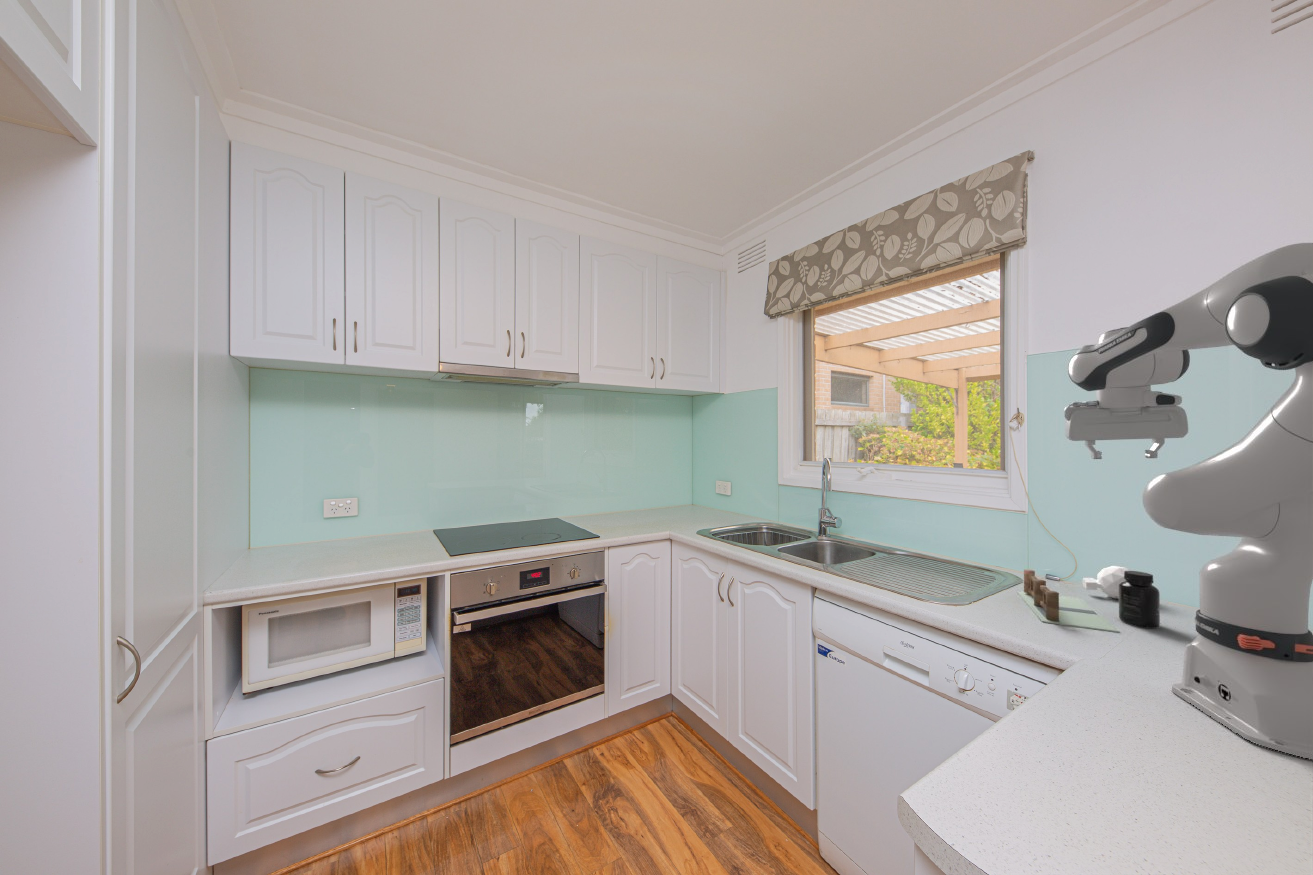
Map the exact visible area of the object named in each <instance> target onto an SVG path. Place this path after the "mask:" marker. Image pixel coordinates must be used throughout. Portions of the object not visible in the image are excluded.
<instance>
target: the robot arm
mask: <svg viewBox="0 0 1313 875" xmlns="http://www.w3.org/2000/svg"><path fill="white" fill-rule="evenodd" d="M1229 346H1235V347H1237V349H1238V350H1240V351H1241V352H1242V353H1244V354H1245V355H1247V356H1249V357H1251V358H1253V359H1257V360H1259V361H1260V363H1261V365H1262V366H1263V367H1266V368H1267V369H1271V370H1276V371H1287V370H1293V369H1294V370H1295V378H1294V380H1293V382H1292V383H1291V385H1290V386H1289V387H1288V388H1287V390H1286V391H1285V392H1284V393H1283V394H1282V395H1281V396H1280V398H1278V399H1277V401H1275V403H1274V404H1273V405H1272V406H1271V407H1270V409H1269V410H1268V411H1267V412H1266V413H1265V415H1264V416H1263V417H1262V418H1261V419H1260V420H1259V421H1258V422H1257V423H1256V424H1255V425H1254V426H1253V428H1251V430H1249V431H1248V433H1247V434H1246V435H1244V436H1243V437H1242V438H1241V439H1239V440H1238V441H1237V442H1235V443H1233V444H1232V445H1230V446H1229V447H1227V448H1225V449H1224V450H1222V451H1220V452H1217V453H1216V454H1213V455H1211V456H1210V457H1208V458H1206V459H1203V460H1202V461H1199V462H1198V463H1194V464H1192V465H1190V466H1187V467H1184V468H1183V467H1182V468H1180V469H1176V470H1174V471H1171V472H1166V473H1161V474H1158V475H1156V476H1154V477H1153V478H1152V479H1151V480H1150V481H1149V482H1147V485H1146V486H1145V487H1144V490H1143V493H1142V504H1143V505H1142V506H1143V508H1144V510H1145V512H1146V514H1147V515H1148V516H1149V518H1150V519H1151V520H1152V521H1153V522H1154V523H1156V524H1157V525H1158V526H1160V527H1161V528H1163V529H1168V530H1173V531H1179V532H1181V533H1182V532H1183V533H1188V534H1192V535H1193V534H1194V535H1198V536H1199V535H1200V536H1213V537H1214V536H1216V537H1231V538H1232V537H1234V538H1241V540H1240V542H1239V544H1238V545H1237V546H1236V547H1235V548H1234V549H1233V550H1232V551H1231V552H1228V553H1227V554H1225V555H1222V556H1220V557H1219V556H1218V557H1215V558H1214V559H1211V560H1209V561H1207V562H1206V563H1205V564H1203V565H1202V567H1201V569H1200V571H1199V583H1198V584H1199V609H1197V610H1196V612H1195V617H1194V622H1195V631H1196V632H1197V636H1196V637H1195V638H1194V639H1193V640H1192V641H1191V642H1190V643H1188V644H1187V645H1185V648H1184V657H1183V658H1184V659H1183V669H1182V675H1181V677H1182V678H1181V679H1182V680H1181V683H1174V684H1172V685H1171V692H1172V693H1174V694H1175V695H1176V696H1177V697H1180V698H1181V699H1183V700H1184V701H1185V702H1187V703H1188V704H1190V703H1191V704H1190V705H1191V706H1193V705H1194V706H1193V707H1195V708H1196V707H1197V708H1196V709H1198V710H1199V709H1200V710H1199V711H1201V712H1202V711H1203V713H1204V714H1205V715H1206V716H1208V717H1210V716H1211V717H1210V718H1211V719H1213V720H1215V721H1216V722H1218V723H1219V722H1220V723H1219V724H1221V723H1222V724H1223V727H1225V726H1226V727H1225V728H1227V727H1228V728H1229V729H1228V728H1227V729H1228V730H1230V729H1231V730H1232V732H1233V733H1235V734H1236V733H1238V734H1239V735H1241V736H1242V737H1243V739H1244V738H1245V739H1248V740H1250V741H1252V742H1255V743H1257V744H1260V745H1263V746H1266V747H1269V748H1272V749H1275V750H1278V751H1277V752H1279V751H1282V752H1286V753H1289V754H1294V755H1296V756H1295V757H1297V756H1300V757H1299V758H1301V757H1303V758H1302V759H1305V758H1310V759H1313V632H1312V631H1311V630H1310V629H1309V609H1310V608H1309V607H1310V597H1311V596H1310V595H1311V587H1312V584H1313V242H1301V243H1293V244H1288V245H1286V246H1282V247H1279V248H1277V249H1274V250H1271V251H1270V252H1267V253H1265V254H1263V255H1261V256H1259V257H1256V258H1255V259H1251V260H1250V261H1248V262H1246V263H1245V264H1242V265H1241V266H1238V267H1237V268H1236V269H1234V270H1231V272H1229V273H1227V274H1225V276H1223V277H1222V278H1220V279H1218V280H1217V281H1216V282H1214V283H1212V284H1211V285H1209V286H1207V287H1205V288H1204V289H1202V290H1201V291H1198V292H1197V293H1195V294H1193V295H1191V296H1189V297H1187V298H1185V299H1184V300H1182V301H1180V302H1177V303H1175V304H1174V305H1171V306H1169V307H1167V308H1164V309H1163V310H1161V311H1159V312H1157V313H1154V314H1152V315H1150V316H1148V317H1146V318H1142V319H1141V320H1139V321H1137V322H1135V323H1134V324H1131V325H1130V326H1126V327H1125V326H1124V327H1119V328H1116V329H1112V330H1108V331H1105V332H1104V333H1103V334H1101V336H1100V337H1099V340H1098V343H1097V344H1087V345H1086V344H1085V345H1083V346H1082V347H1081V348H1080V349H1078V351H1076V352H1075V353H1074V354H1073V355H1072V356H1071V358H1070V360H1069V362H1068V367H1067V372H1068V377H1069V379H1070V381H1071V382H1072V383H1073V384H1074V385H1076V386H1077V387H1079V388H1081V389H1082V390H1085V391H1086V392H1094V391H1096V400H1090V401H1075V402H1072V403H1071V404H1069V405H1067V406H1066V407H1065V408H1064V418H1065V420H1066V423H1065V432H1064V434H1065V437H1066V438H1067V439H1068V440H1070V441H1072V442H1079V441H1080V442H1082V441H1084V446H1086V447H1087V449H1088V450H1089V451H1090V457H1091V459H1092V460H1102V459H1103V458H1102V457H1103V456H1102V455H1103V452H1102V451H1100V450H1096V448H1095V447H1094V446H1095V445H1096V441H1113V440H1114V441H1123V440H1146V439H1147V440H1149V439H1150V440H1151V442H1152V443H1154V444H1152V446H1151V448H1149V449H1145V450H1144V453H1145V454H1144V456H1145V458H1146V459H1157V458H1158V452H1159V450H1161V448H1162V447H1163V446H1164V444H1165V440H1166V439H1182V438H1185V437H1186V436H1187V435H1188V433H1189V423H1188V416H1187V412H1186V410H1185V409H1184V408H1183V407H1182V406H1180V405H1181V404H1182V403H1183V398H1182V396H1181V395H1178V394H1174V393H1173V394H1172V393H1165V392H1163V391H1156V390H1155V391H1154V390H1152V389H1151V388H1152V386H1154V385H1155V386H1156V385H1165V384H1168V383H1175V381H1178V380H1179V379H1180V378H1182V376H1184V375H1185V373H1186V372H1187V371H1188V370H1189V367H1190V363H1191V361H1190V360H1191V356H1190V351H1191V350H1198V349H1199V350H1201V349H1213V348H1221V347H1229ZM1189 350H1190V351H1189ZM1272 364H1273V365H1272ZM1222 724H1221V725H1222ZM1231 730H1230V731H1231ZM1238 734H1237V735H1238ZM1239 735H1238V736H1239ZM1241 736H1240V737H1241ZM1242 737H1241V738H1242ZM1245 739H1244V740H1245ZM1257 744H1256V745H1257ZM1260 745H1259V746H1260ZM1263 746H1262V747H1263ZM1266 747H1265V748H1266ZM1269 748H1268V749H1269ZM1272 749H1271V750H1272ZM1275 750H1274V751H1275ZM1282 752H1281V753H1282ZM1286 753H1285V754H1286ZM1289 754H1288V755H1289ZM1310 759H1309V760H1310Z"/></svg>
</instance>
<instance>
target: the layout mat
mask: <svg viewBox="0 0 1313 875" xmlns="http://www.w3.org/2000/svg"><path fill="white" fill-rule="evenodd" d="M1016 593H1017V595H1018V596H1019V597H1020V598H1021V599H1022V601H1023V602H1024V603H1025V604H1026V605H1027V606H1028V607H1029V609H1030V610H1031V611H1032V612H1033V613H1034V615H1035V616H1036V617H1037V618H1038V620H1039V621H1040V622H1041V623H1045V624H1047V623H1048V624H1051V625H1052V624H1054V625H1061V626H1069V627H1076V628H1083V629H1089V630H1090V629H1092V630H1098V631H1105V632H1113V633H1120V632H1121V631H1120V630H1119V629H1117V628H1116V627H1115V626H1114V625H1113V624H1112V623H1111V622H1109V621H1108V620H1106V619H1105V618H1104V617H1103V616H1102V615H1101V614H1099V613H1098V612H1097V611H1096V610H1095V609H1094V608H1092V607H1091V606H1090V605H1089V604H1088V603H1086V602H1085V601H1084V600H1083V599H1081V597H1072V596H1066V595H1065V596H1064V595H1059V621H1057V622H1054V621H1050V620H1048V619H1046V610H1045V609H1043V607H1038V606H1035V605H1034V598H1033V596H1032V595H1030V594H1028V593H1025V592H1024V591H1022V590H1021V591H1018V590H1016Z"/></svg>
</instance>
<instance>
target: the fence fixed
mask: <svg viewBox="0 0 1313 875" xmlns="http://www.w3.org/2000/svg"><path fill="white" fill-rule="evenodd" d="M1059 594H1060V593H1059V592H1058V591H1054V590H1050V589H1049V587H1047V581H1046V580H1044V579H1039V578H1037V579H1034V605H1035V606H1038V607H1043V609H1045V610H1046V619H1048V620H1050V621H1054V622H1057V621H1059V596H1060V595H1059Z"/></svg>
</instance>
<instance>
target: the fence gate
mask: <svg viewBox="0 0 1313 875" xmlns="http://www.w3.org/2000/svg"><path fill="white" fill-rule="evenodd" d="M1034 579H1038V577H1036V573H1035V570H1032V569H1023V592H1025V593H1028V594H1030V595H1032V596H1033V598H1034Z"/></svg>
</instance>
